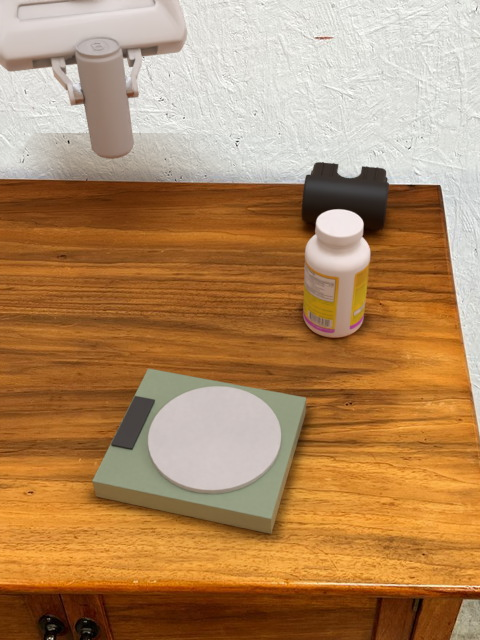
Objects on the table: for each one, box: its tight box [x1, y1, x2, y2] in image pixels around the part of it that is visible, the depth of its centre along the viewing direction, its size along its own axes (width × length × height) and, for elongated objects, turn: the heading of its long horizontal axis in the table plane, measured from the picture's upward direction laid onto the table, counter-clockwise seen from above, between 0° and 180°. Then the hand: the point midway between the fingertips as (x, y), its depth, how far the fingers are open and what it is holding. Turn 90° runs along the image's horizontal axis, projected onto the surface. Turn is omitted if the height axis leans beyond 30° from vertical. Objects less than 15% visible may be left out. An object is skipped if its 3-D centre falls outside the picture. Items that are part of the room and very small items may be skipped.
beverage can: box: [75, 36, 135, 160], centre depth 84 cm, size 5×5×12 cm
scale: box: [91, 368, 307, 535], centre depth 71 cm, size 16×14×3 cm
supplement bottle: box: [302, 209, 371, 339], centre depth 80 cm, size 7×7×13 cm
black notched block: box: [301, 161, 390, 231], centre depth 95 cm, size 10×7×7 cm
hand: (105, 99), depth 84 cm, fingers closed on beverage can, 4 cm apart
